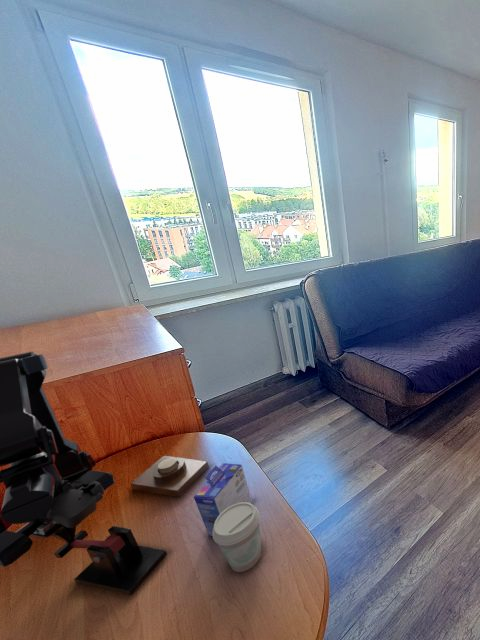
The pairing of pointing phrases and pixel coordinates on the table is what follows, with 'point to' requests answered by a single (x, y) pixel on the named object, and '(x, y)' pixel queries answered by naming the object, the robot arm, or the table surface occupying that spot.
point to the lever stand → (120, 564)
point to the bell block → (170, 477)
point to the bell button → (167, 465)
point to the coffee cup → (239, 535)
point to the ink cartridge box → (221, 492)
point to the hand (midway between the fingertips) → (70, 541)
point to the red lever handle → (110, 542)
